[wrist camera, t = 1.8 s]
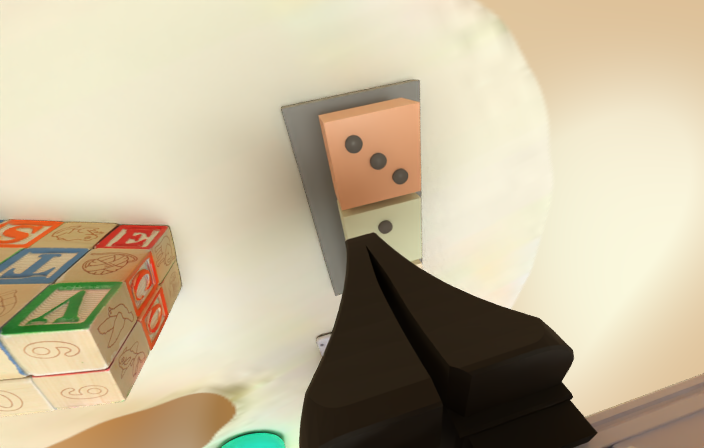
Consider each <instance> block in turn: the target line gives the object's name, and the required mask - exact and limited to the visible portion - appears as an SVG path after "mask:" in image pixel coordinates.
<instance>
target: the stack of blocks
mask: <svg viewBox="0 0 704 448" xmlns="http://www.w3.org/2000/svg"><path fill="white" fill-rule="evenodd" d="M181 287H182V285H181V280H180V275H179V270H178V265H177V261H176V254H175V248H174V244H173V240H172V236H171V232H170V229H169V226H143V225H118V224H114V223H87V222H67V223H65V222H58V221H35V220H6V221H4V220H0V417H5V416H13V415H22V414H30V413H39V412H47V411H53V410H57V409H67V408H75V407H83V406H93V405H101V404H107V403H117V402H123V401H125V400H126V398H127V396H128V395H129V393H130V391H131V389H132V387H133V385H134V383H135V381H136V379H137V377H138V375H139V373H140V371H141V369H142V367H143V365H144V363H145V361H146V358H147V357H148V355H149V352H150V351H151V350H152V349H153V347H154V345H155V343H156V341H157V339H158V337H159V335H160V332H161V330H162V328H163V326H164V324H165V322H166V320H167V318H168V315H169V313H170V311H171V309H172V307H173V304H174V302H175V300H176V298H177V296H178V294H179V292H180V290H181Z"/></svg>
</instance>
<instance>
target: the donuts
mask: <svg viewBox="0 0 704 448" xmlns="http://www.w3.org/2000/svg"><path fill="white" fill-rule="evenodd" d="M221 448H285V444H284V442H283V440H282V439H281V438H280V437H278V436H277V435H274V434H270V433H253V434H247V435H243V436H240V437H237V438H235V439H233V440H231V441H229V442H228V443H226V444H225V445H224V446H223V447H221Z"/></svg>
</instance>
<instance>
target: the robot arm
mask: <svg viewBox="0 0 704 448" xmlns="http://www.w3.org/2000/svg"><path fill="white" fill-rule="evenodd" d="M345 245H346V251H347V263H346V276H345V282H344V289H343V294H342V299H341V303H340V307H339V311H338V314H337V318H336V321H335V324H334V327H333V330H332V333H331V334H328V335H325V336H321V337H319V338H317V340H316V341H317V345H318V348H319V350H320V352H321V355H322V359H321V361H320V363H319V366H318V368H317V370H316V372H315V374H314V376H313V378H312V380H311V383H310V385H309V387H308V389H307V391H306V393H305V398H304V404H303V409H302V416H301V423H300V437H299V448H704V373H703V374H700V375H698V376H695V377H692V378H690V379H687V380H684V381H681V382H679V383H676V384H673V385H671V386H668V387H665V388H662V389H660V390H657V391H654V392H652V393H649V394H646V395H643V396H641V397H638V398H635V399H633V400H630V401H627V402H624V403H622V404H619V405H616V406H614V407H611V408H608V409H605V410H603V411H600V412H598V413H595V414H592V415H589V416H587V417H584V416H583V415H582V414H581V412H580V411H579V410H578V409H577V408H576V407H575V405H574V404H573V403H572V402H571V401H570V399H572V398H573V396H572V394H571V392H570V391H569V390H568V389H567V388H566V386H565V385H564V384H563V383H562V380H563V378H564V377H565V375H566V373H567V371H568V370H569V368H570V367H571V364H572V362H573V360H574V355H573V350H572V349H571V348H570V347H569V346H568V345H567V344H566V343H565V342H564V341H563V340H562V339H561V338H560V337H559V336H558V335H557V334H556V333H555V332H554V331H553V330H552V329H551V328H550V327H549V326H548V325H546V324H545V323H544V322H543V321H542V320H541V319H540V318H537V317H534V316H531V315H527V314H524V313H521V312H518V311H514V310H511V309H508V308H505V307H502V306H499V305H496V304H494V303H491V302H488V301H486V300H483V299H480V298H478V297H475V296H473V295H471V294H469V293H466V292H464V291H462V290H460V289H457V288H455V287H453V286H451V285H449V284H447V283H445V282H443V281H441V280H439V279H438V278H436V277H434V276H432V275H431V274H429V273H427V272H426V271H424V270H422V269H421V268H419V267H418V266H416V265H415V264H413V263H412V262H410V261H409V260H408V259H406V258H405V257H404V256H402V255H401V254H400V253H398V252H397V251H396V250H394V249H393V248H392V247H391V246H390V245H388V244H387V243H386V242H385V241H384V240H383V239H382V238H380V237H379V236H378V235H377V234H376V233H374V232H372V233H369V234H365V235H361V236H358V237H354V238H350V239H347V240H346V241H345Z"/></svg>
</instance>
